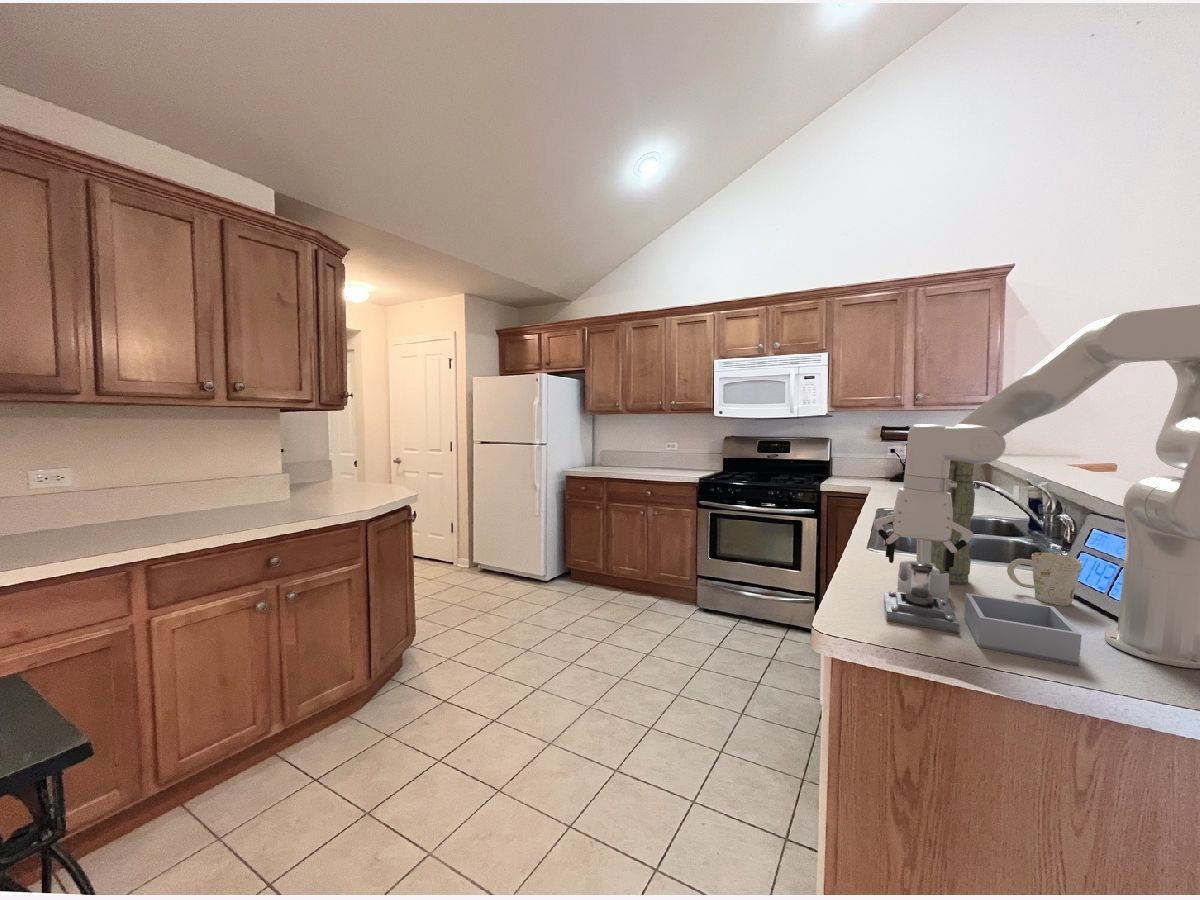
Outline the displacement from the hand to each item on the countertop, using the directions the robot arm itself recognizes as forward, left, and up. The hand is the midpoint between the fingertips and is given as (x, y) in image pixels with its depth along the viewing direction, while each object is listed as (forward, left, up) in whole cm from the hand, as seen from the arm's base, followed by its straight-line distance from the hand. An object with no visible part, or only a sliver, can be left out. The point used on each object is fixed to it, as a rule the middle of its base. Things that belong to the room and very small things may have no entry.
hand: (917, 565), depth 100 cm
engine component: (-3, -16, -11) cm, 20 cm away
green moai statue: (-10, -31, -11) cm, 34 cm away
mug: (-27, -26, -11) cm, 39 cm away
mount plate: (-1, 0, -11) cm, 11 cm away
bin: (-16, +4, -11) cm, 19 cm away
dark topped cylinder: (-1, 0, -9) cm, 9 cm away
